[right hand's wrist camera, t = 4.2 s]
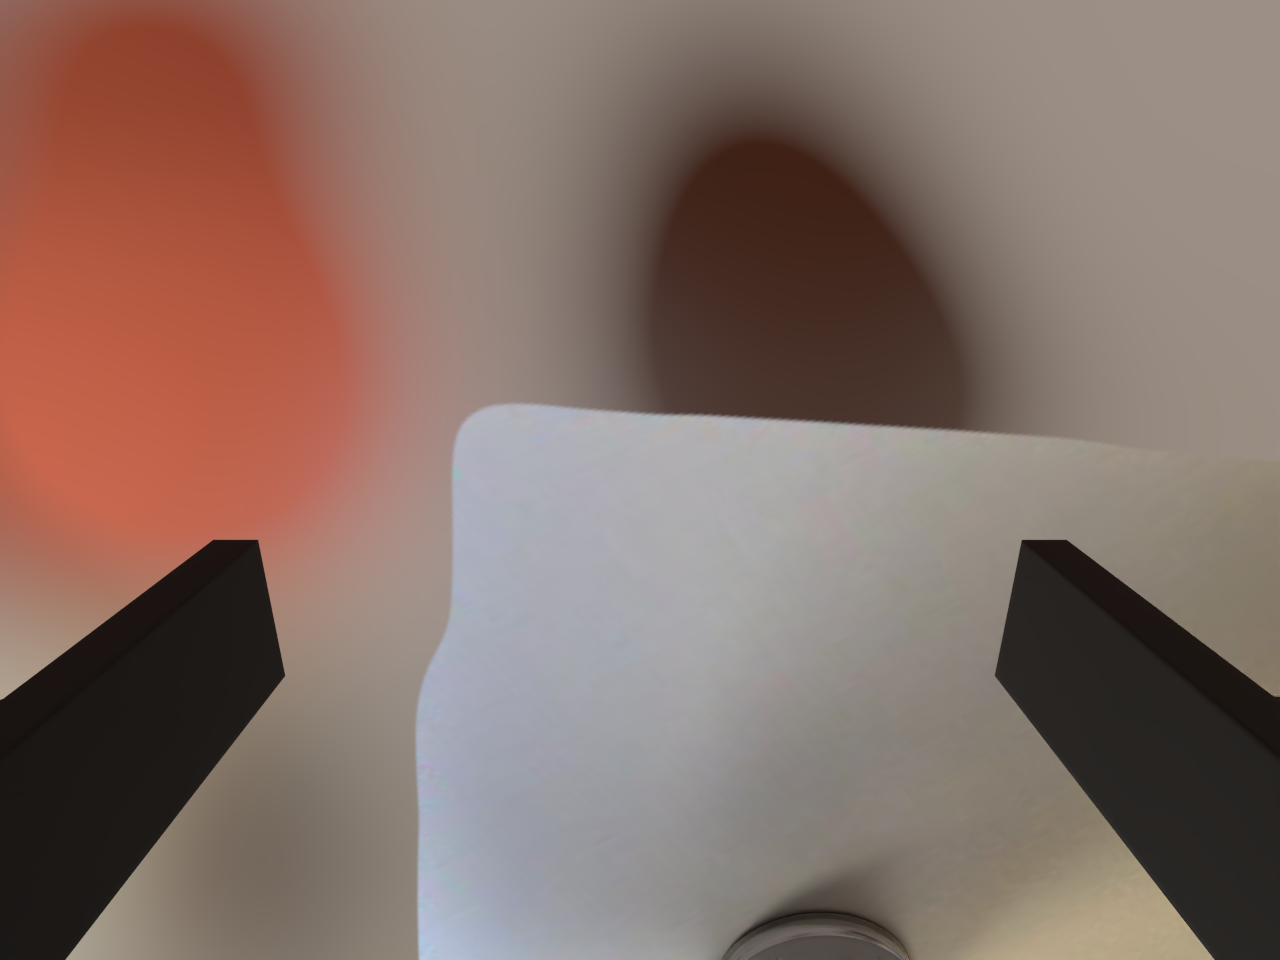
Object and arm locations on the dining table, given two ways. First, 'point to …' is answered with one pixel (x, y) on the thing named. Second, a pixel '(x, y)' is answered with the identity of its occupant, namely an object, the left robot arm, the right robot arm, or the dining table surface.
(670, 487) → the dining table surface
